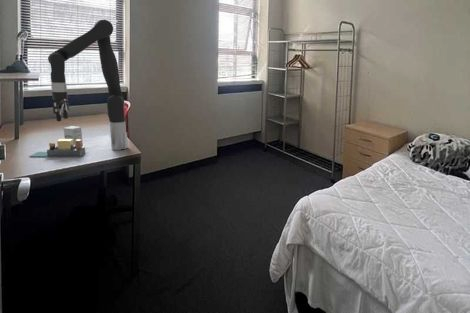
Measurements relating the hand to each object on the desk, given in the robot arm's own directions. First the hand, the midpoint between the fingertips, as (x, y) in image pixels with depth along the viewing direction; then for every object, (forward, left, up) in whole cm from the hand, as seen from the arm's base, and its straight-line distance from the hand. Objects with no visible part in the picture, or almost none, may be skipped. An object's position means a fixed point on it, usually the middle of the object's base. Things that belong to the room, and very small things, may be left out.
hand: (62, 119), depth 188 cm
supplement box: (+3, -19, -21) cm, 28 cm away
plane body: (0, 0, -21) cm, 21 cm away
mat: (+14, 0, -21) cm, 25 cm away
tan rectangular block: (0, 0, -17) cm, 17 cm away
